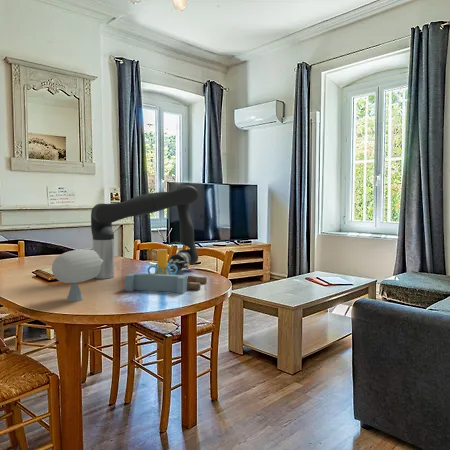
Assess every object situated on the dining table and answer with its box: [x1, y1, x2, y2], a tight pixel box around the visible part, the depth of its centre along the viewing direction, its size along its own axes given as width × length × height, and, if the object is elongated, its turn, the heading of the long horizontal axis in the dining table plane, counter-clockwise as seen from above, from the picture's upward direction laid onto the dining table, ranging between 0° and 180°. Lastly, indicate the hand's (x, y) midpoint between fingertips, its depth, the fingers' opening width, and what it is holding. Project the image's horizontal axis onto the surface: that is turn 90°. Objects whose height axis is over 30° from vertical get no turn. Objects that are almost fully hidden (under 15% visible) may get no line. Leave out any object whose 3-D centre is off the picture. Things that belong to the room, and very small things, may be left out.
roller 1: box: [187, 275, 208, 285], centre depth 173 cm, size 8×3×3 cm
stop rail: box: [125, 272, 188, 295], centre depth 158 cm, size 23×6×6 cm, turn 81°
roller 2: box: [187, 282, 202, 291], centre depth 161 cm, size 8×3×3 cm, turn 81°
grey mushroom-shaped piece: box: [51, 248, 103, 303], centre depth 143 cm, size 15×20×18 cm
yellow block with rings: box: [147, 248, 178, 275], centre depth 166 cm, size 12×10×15 cm
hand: (168, 266), depth 172 cm, fingers closed
